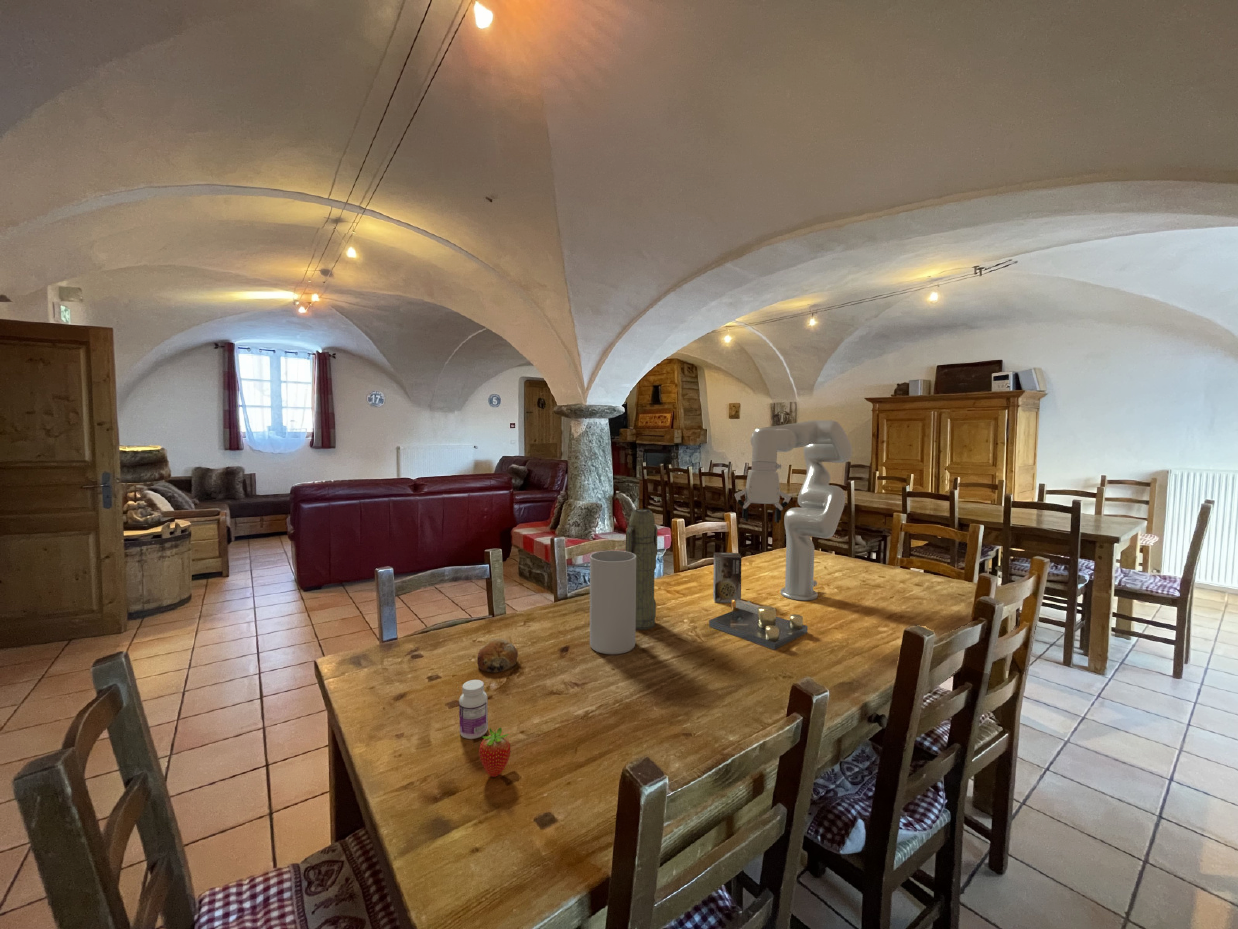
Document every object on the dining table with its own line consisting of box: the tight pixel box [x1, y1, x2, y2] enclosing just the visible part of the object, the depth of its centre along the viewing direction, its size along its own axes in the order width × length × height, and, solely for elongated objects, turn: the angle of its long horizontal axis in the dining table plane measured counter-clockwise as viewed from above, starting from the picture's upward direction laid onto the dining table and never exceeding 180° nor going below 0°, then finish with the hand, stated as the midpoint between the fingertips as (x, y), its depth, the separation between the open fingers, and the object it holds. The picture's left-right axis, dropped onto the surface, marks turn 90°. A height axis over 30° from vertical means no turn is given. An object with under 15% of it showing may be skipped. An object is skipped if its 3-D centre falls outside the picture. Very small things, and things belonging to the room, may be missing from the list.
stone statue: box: [625, 508, 658, 631], centre depth 156 cm, size 9×12×35 cm
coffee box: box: [712, 552, 742, 604], centre depth 179 cm, size 9×6×16 cm
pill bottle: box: [458, 679, 489, 740], centre depth 101 cm, size 5×5×10 cm
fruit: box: [478, 727, 511, 778], centre depth 88 cm, size 5×5×8 cm
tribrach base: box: [708, 601, 809, 651], centre depth 153 cm, size 18×22×5 cm
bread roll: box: [476, 638, 519, 673], centre depth 130 cm, size 10×10×8 cm
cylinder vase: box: [589, 550, 637, 655], centre depth 141 cm, size 12×12×25 cm
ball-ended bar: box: [730, 599, 777, 629], centre depth 155 cm, size 15×5×5 cm, turn 42°
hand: (761, 521), depth 163 cm, fingers open, 9 cm apart
